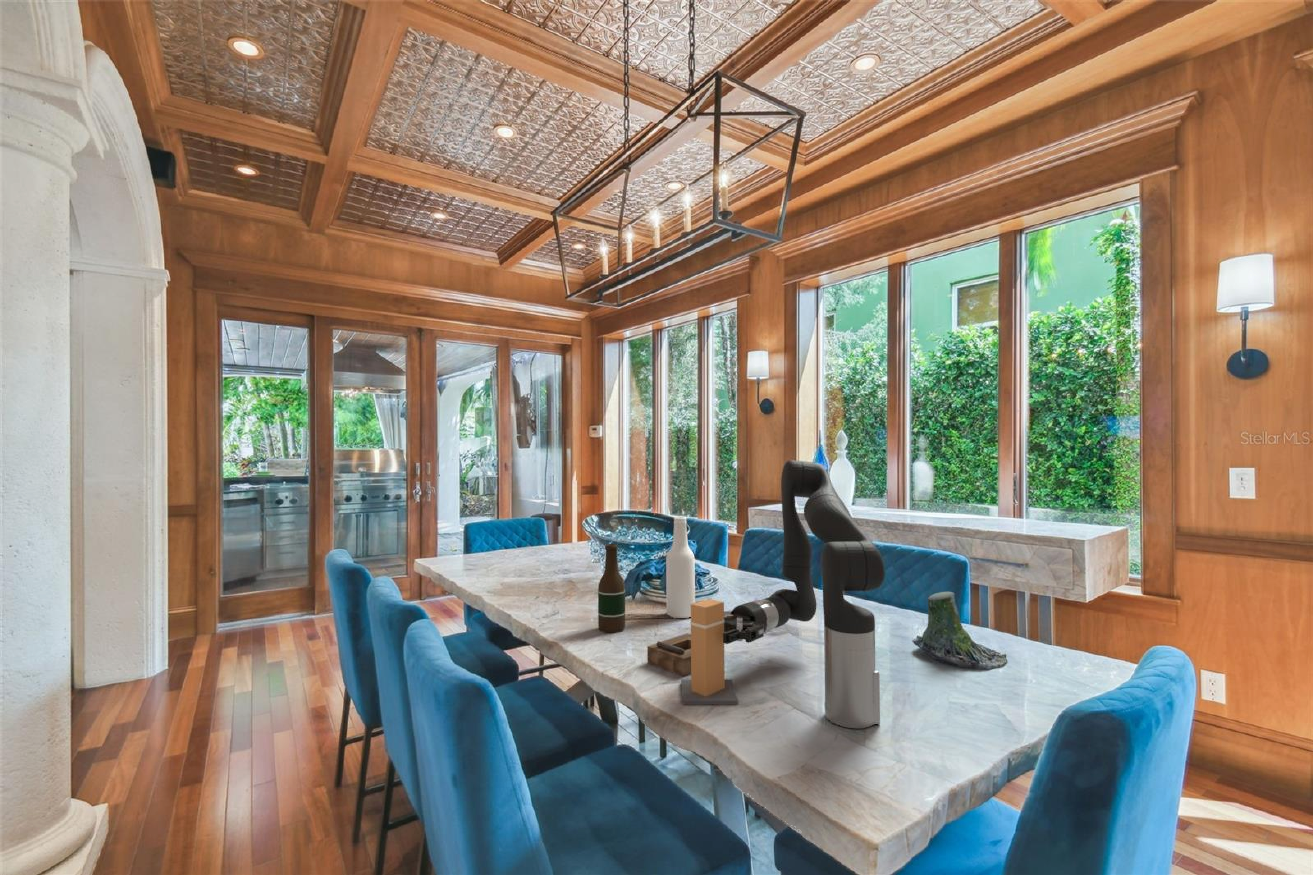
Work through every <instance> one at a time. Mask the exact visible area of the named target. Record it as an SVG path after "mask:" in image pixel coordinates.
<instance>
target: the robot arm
mask: <svg viewBox="0 0 1313 875" xmlns="http://www.w3.org/2000/svg"><path fill="white" fill-rule="evenodd" d="M780 478H781V479H780V488H781V489H780V491H781V493H780V494H781V515H782V528H783V550H782V551H783V552H782V568H781V572H782V573H781V574H782V577H784V579H787V580H788V581H791V582H793V583H794V586H795V588H796V590H794V589H788V588H782V589H778V590H776V591H775V592H773V593H772V594H771V595H770V596H769V597H765V598H763V599H756V600H752V601H749V602H746V603H742V604H739V605H737V606H735V607H734V608H732V610H731V612H730V614H724V634H723V643H724V645H725V644H726V645H728V644H731V643H733V642H737V641H738V642H743V640H745V643H748V644H749V643H752V642H754V641H756V640H758V639H761V638H763V637H764V634H767V633H769V632H770V631H772V630H774V629H776V628H779V627H782V626H784V625H786V624H787V623H788V621H789V620H795V621H800V622H809V621H811V620H812V619H813V618H814V616H815V614H816V611H817V599H816V593H815V589H814V585H813V579H812V560H813V559H812V557H813V556H812V555H813V550H812V543H811V540H810V537H809V535H808V533H807V531H806V529H805V528H804V525H803V524H802V522H801V519H800V517H799V514H798V511H797V509H796V508H797V507H796V497H798V498H807V500H806V502H805V504H804V508H803V515H804V519H805V521H806V523H807V526H808V528H809V530H810V531H811V533H812V534H813V535H814V536H815V538H817V539H818V540H819V541H821V542H822V543H824V545H823V547H822V549H821V554H820V571H821V572H820V573H821V581H822V582H821V584H822V606H823V609H822V610H823V645H824V646H823V647H824V648H823V649H824V650H823V654H824V659H823V660H824V664H823V665H824V715H825V718H826V719H827V720H828V721H829V720H830V721H829V722H831V723H833V724H834V723H835V725H837V726H839V725H840V726H841V727H843V728H850V729H867V728H870V726H871V727H873V726H875V725H874V724H880V725H881V702H880V701H881V697H880V695H881V694H880V693H881V692H880V691H881V690H880V683H881V682H880V681H881V680H880V679H881V678H880V672H879V671H878V670H877V669H876V627H875V626H876V618H875V615H874V613H873V612H872V611H871V610H869V609H867V608H865V607H862V606H859V605H856V604H854V603H851V602H849V601H847V599H845V597H844V592H869V591H874V590H877V589H878V588H880V587H881V586H882V585H883V583H884V581H885V577H886V568H885V562H884V560H883V556H882V555H881V552H880V550H879V549H878V547H877V546H876V544H875V543H874V542H873V541H872V539H871V538H870V537H869V536H868V535H866V533H865V532H864V531H863V530H862V529H861V528H860V527H859V525H858V524H857V523H856V521H855V519H854V518H853V517H852V515H851V514H850V510H849V509H848V507H847V506H846V505H845V503H844V502H843V500H842V499H841V497H840V496H839V495H838V493H837V491H836V489H835V487H834V485H833V483H832V480H831V478H830V476H829V473H828V470H827V469H826V467H825V466H824V465H822V464H821V463H818V462H812V461H805V460H804V461H803V460H794V459H793V460H790V459H789V460H787V461H786V462H785V463H784V465H783V468H782V471H781V477H780ZM872 725H873V726H872ZM840 726H839V727H840ZM866 727H867V728H866Z"/></svg>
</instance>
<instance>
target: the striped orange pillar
mask: <svg viewBox="0 0 1313 875" xmlns="http://www.w3.org/2000/svg"><path fill="white" fill-rule="evenodd" d="M724 616H725V602H724V601H720V600H716V599H712V598H708V599H704V600H700V601H695V603H693V604H691V618H690V634H691V674H690V677H691V678H690V679H691V691H693V692H695V693H698V694H701V695H703V696H708V695H711V694H713V693H715V692H717V691H719V690H721V689H724V688H725V679H726V678H725V643H723V634H724Z"/></svg>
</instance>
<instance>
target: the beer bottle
mask: <svg viewBox="0 0 1313 875" xmlns="http://www.w3.org/2000/svg"><path fill="white" fill-rule="evenodd" d="M618 548H619V547H618V544H616V543H607V544H606V545H605V546H604V549H605V558H604V559H605V562H604V572H603V574H602V576H601V578H600V579H599V583H598V588H597V589H598V590H597V599H598V600H597V609H598V610H597V616H598V617H597V619H598V620H597V621H598V622H597V623H598V630H599V631H600V632H602V633H604V634H607V633H608V634H617V633H620V632H623V631H624V629H625V627H626V585H625V583H626V582H625V580H624V578H623V576H622V575H621V572H620V570H619V560H618Z"/></svg>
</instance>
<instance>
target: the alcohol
mask: <svg viewBox="0 0 1313 875" xmlns="http://www.w3.org/2000/svg"><path fill="white" fill-rule="evenodd" d="M672 536H673V538H672V545H671V548H670V549H669V550H668V551H667V555H666V558H665V569H666V570H665V571H666V573H665V578H666V579H665V580H666V581H665V582H666V583H665V584H666V585H665V586H666V590H665V591H666V595H665V596H666V614H667V616H668V615H670V616H671V617H673V618H672V619H676V618H686V619H690V618H689V617H691V604H693V603H696V570H695V568H696V567H695V566H696V564H695V562H696V557H695V555H694V552H693V551H692V549H691V548H690V546H689V541H688V529H687V517H686V516H675V517H673V535H672ZM671 617H670V618H671Z"/></svg>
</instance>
